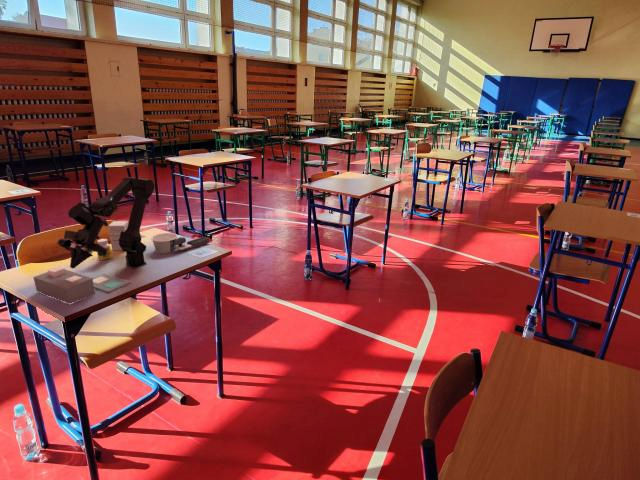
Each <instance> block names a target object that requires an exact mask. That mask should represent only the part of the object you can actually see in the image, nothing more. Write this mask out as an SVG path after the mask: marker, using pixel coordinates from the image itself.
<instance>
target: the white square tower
mask: <svg viewBox="0 0 640 480" xmlns="http://www.w3.org/2000/svg"><path fill="white" fill-rule="evenodd" d="M128 223H129V220H119V221H118V220H116V221H115V220H114V221H112V222H111V223H110V224H108V226H107V228H108V232H109V234H108V235H109V240H110V247H111V249H112V251H122V249H121V247H120V245H119V241H118V240H119V238H120V233H121V231H122V232H124V231H125V230H126V229H127V227H128Z"/></svg>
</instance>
